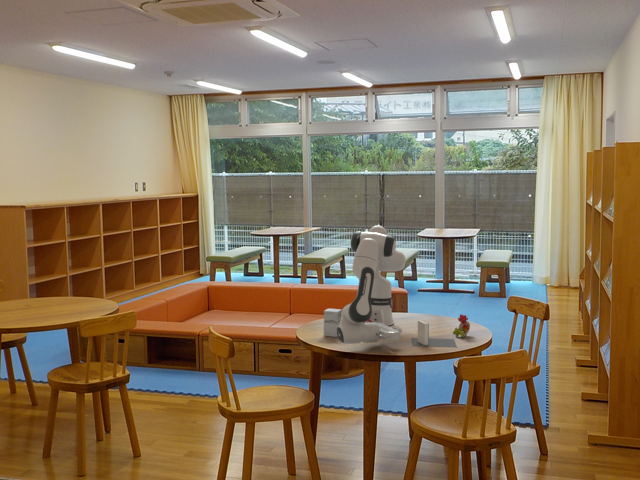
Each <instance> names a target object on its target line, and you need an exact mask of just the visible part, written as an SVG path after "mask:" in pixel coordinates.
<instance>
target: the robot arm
mask: <svg viewBox="0 0 640 480" xmlns="http://www.w3.org/2000/svg"><path fill="white" fill-rule="evenodd" d="M349 243H350V249H351V250H352V251H353V252H355V254H354V257H353V262H352V270H351V271H352V273H353V275H354V276H355V278H357V279H358V287H357V291H356V296H355V298H354V300H353V301H352V302H351V303H348V304H346V305H345V306H344V307H343V308H342V312H341V320H340V324H339V326H338V327H337V336H338V337H337V338H338V340H339V341H340V343H342V344H350V345H351V344H353V345H354V344H355V345H356V344H360V343H366V344H368V343H377V342H378V341H379V340H380V339H381V340H383V341H397V340H400V337H401V336H400V335H401V333H402V329H401V328H400V327H391V326H393V325H394V324H395V322H394V319H393V312H392V311H393V310H392V308H393V297H392V282H391V281H390V280H389V279H388V278H386V277H385V276H382V275H381V272H398V271H402V270H404V268H405V266H406V263H407V258H406V256H405V254H404V253H403V252H402V251H399V250H397V242H396V238H395V237H394V236H393V235H390V234H389V233H388V231H387V229H386V228H385V227H383V226H382V225H373V226H372V227H371V228H370V229H369V231H363V230H356V231H355V232H353V233H352V236H351V237H350V242H349ZM368 319H370V320H371V321H372V322H365V321H367V320H368ZM364 322H365V323H364Z"/></svg>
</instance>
